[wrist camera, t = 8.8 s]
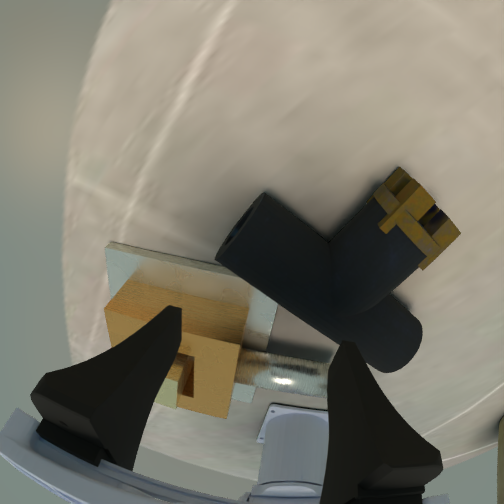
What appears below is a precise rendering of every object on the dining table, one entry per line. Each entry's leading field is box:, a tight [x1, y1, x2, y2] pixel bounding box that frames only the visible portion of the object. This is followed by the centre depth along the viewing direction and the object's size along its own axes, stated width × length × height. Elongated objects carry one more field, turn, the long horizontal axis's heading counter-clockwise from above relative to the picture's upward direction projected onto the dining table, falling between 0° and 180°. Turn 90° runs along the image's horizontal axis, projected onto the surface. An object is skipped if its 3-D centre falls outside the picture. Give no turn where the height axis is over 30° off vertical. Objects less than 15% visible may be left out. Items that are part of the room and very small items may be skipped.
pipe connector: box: [215, 167, 461, 373], centre depth 19 cm, size 12×5×15 cm
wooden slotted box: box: [104, 242, 331, 419], centre depth 24 cm, size 15×20×5 cm
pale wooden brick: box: [154, 352, 195, 409], centre depth 24 cm, size 4×2×7 cm, turn 168°
